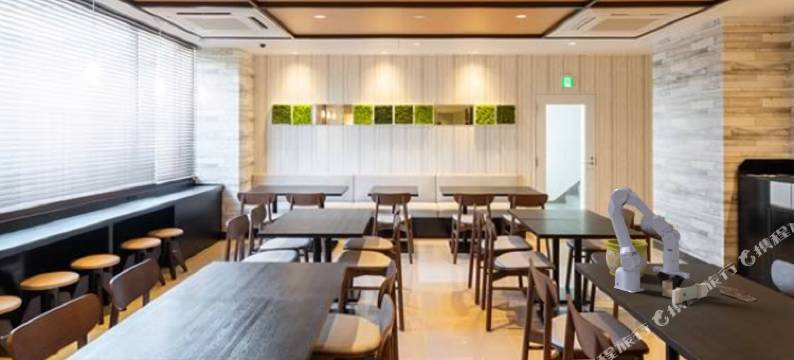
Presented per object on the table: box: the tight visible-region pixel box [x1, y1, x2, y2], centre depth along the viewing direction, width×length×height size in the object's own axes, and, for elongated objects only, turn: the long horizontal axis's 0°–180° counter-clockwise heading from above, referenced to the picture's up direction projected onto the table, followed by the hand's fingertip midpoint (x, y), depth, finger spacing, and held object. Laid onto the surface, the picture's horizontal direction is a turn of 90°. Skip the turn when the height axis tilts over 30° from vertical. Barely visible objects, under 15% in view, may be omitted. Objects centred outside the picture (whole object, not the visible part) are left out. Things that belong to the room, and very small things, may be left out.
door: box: [681, 285, 698, 302], centre depth 202 cm, size 2×10×5 cm, turn 118°
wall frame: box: [671, 282, 708, 305], centre depth 202 cm, size 2×21×6 cm, turn 118°
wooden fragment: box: [714, 284, 758, 303], centre depth 211 cm, size 26×11×1 cm, turn 169°
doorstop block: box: [661, 279, 673, 299], centre depth 207 cm, size 4×4×6 cm
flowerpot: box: [605, 238, 649, 279], centre depth 239 cm, size 18×18×16 cm
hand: (670, 292), depth 208 cm, fingers closed on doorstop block, 4 cm apart
